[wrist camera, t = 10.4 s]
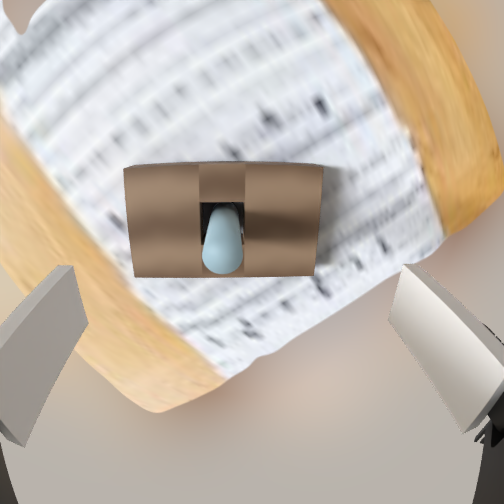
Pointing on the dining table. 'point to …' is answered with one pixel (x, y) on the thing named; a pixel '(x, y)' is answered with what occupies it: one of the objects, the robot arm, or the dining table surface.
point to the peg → (223, 240)
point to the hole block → (223, 190)
